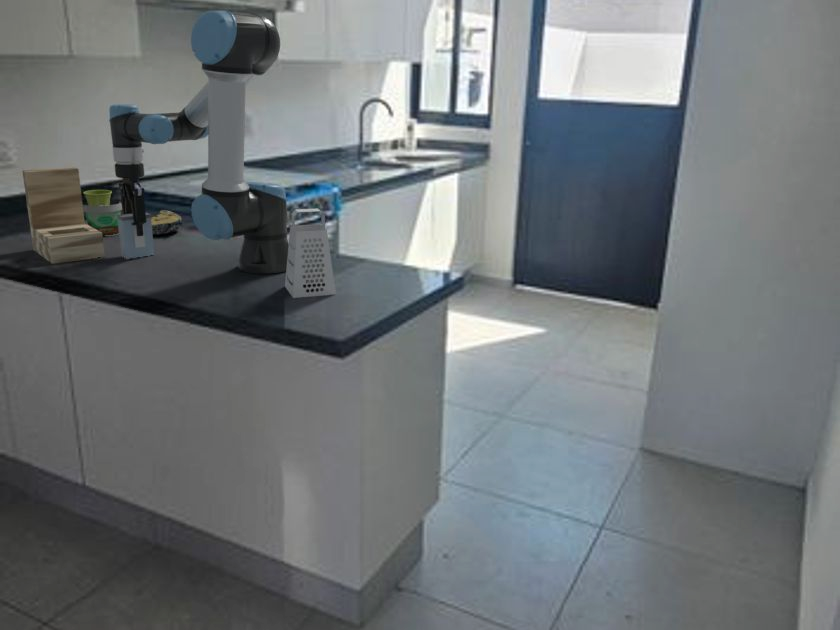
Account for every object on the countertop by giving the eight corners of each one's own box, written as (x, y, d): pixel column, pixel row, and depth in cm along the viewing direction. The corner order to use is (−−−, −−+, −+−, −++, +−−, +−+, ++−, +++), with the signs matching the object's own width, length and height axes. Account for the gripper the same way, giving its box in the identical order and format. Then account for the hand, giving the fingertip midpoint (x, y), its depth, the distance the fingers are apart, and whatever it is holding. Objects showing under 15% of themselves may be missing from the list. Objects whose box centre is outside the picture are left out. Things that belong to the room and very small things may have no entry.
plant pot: (119, 214, 275) (117, 190, 272) (103, 219, 266) (101, 194, 264) (97, 213, 277) (94, 189, 274) (80, 217, 268) (77, 193, 265)
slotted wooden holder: (104, 256, 215) (95, 175, 208) (52, 263, 207) (40, 179, 200) (83, 243, 230) (74, 167, 223) (33, 249, 221) (22, 170, 214)
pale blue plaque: (154, 255, 218) (150, 214, 214) (126, 259, 213) (122, 217, 209) (149, 252, 221) (145, 212, 217) (121, 256, 216) (117, 214, 212)
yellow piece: (192, 202, 266) (171, 219, 237) (196, 218, 267) (175, 237, 239) (152, 208, 265) (126, 226, 237) (156, 224, 267) (131, 243, 239)
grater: (335, 294, 185) (334, 213, 179) (293, 297, 181) (290, 215, 175) (325, 283, 194) (324, 205, 188) (284, 286, 191) (282, 207, 184)
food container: (92, 239, 236) (88, 207, 233) (85, 236, 240) (81, 204, 237) (131, 234, 244) (128, 203, 240) (124, 231, 248) (121, 201, 245)
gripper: (154, 165, 205) (161, 249, 212) (131, 158, 218) (139, 238, 225) (126, 166, 200) (134, 252, 207) (104, 159, 213) (113, 241, 220)
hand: (136, 245), depth 216 cm, fingers open, 4 cm apart
